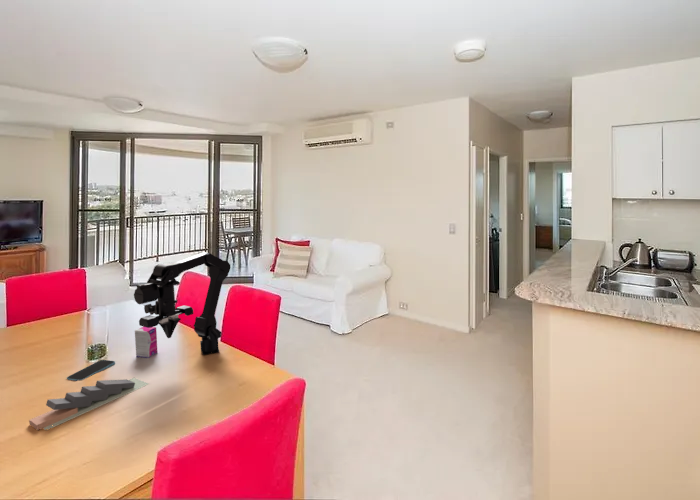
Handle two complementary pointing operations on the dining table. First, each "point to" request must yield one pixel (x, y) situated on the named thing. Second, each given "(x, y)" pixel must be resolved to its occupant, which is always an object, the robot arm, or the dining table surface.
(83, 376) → the smartphone
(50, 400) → the domino
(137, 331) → the supplement box
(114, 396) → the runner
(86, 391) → the domino
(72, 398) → the domino
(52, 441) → the dining table surface
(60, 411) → the domino
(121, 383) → the domino
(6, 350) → the dining table surface
